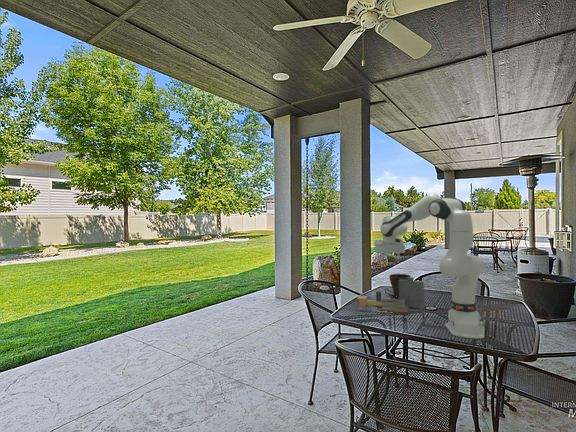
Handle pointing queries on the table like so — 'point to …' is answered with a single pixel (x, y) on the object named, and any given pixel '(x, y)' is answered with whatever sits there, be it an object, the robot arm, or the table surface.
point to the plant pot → (397, 282)
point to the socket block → (362, 301)
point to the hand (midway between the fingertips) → (390, 259)
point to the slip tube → (375, 302)
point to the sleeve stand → (393, 306)
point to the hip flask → (412, 293)
